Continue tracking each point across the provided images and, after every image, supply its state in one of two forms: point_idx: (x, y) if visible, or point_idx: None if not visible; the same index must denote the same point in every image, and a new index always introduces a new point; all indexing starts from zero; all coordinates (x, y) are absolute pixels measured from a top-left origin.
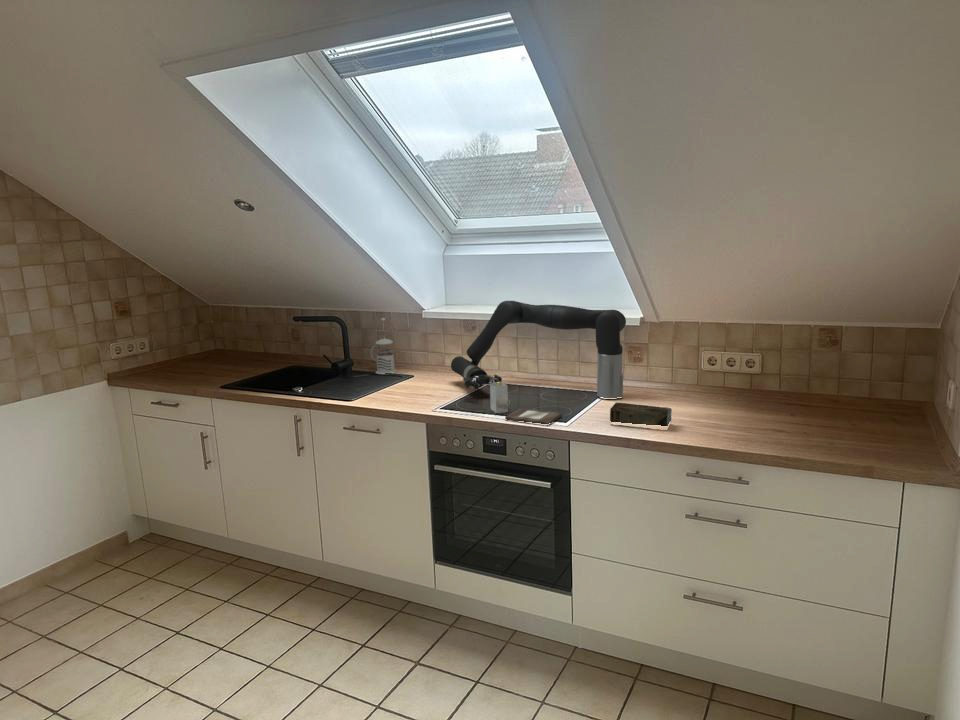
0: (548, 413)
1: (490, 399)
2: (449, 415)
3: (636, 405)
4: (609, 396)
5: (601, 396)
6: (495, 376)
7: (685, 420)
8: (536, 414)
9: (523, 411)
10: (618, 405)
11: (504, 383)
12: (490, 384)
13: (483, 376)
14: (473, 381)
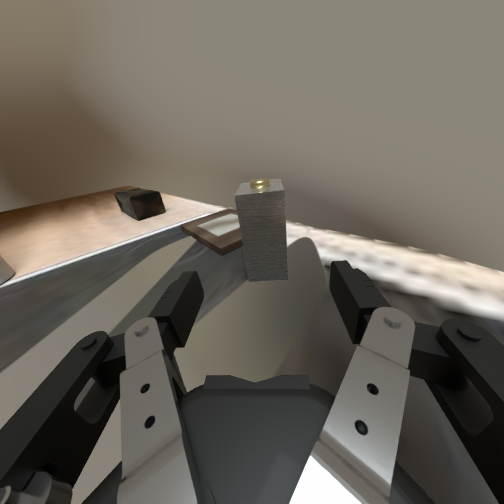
0: (198, 225)
1: (286, 250)
2: (432, 262)
3: (129, 193)
4: (8, 264)
5: (4, 273)
6: (15, 467)
7: (98, 215)
8: (220, 223)
9: (229, 234)
10: (144, 192)
11: (239, 188)
12: (284, 194)
13: (199, 493)
14: (380, 309)
